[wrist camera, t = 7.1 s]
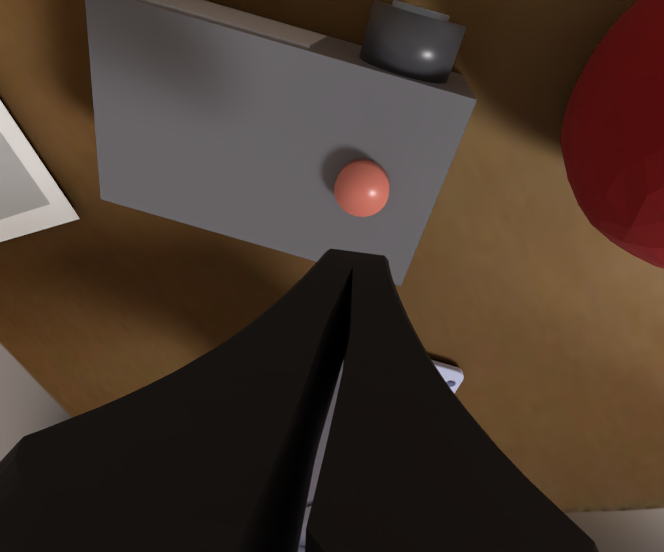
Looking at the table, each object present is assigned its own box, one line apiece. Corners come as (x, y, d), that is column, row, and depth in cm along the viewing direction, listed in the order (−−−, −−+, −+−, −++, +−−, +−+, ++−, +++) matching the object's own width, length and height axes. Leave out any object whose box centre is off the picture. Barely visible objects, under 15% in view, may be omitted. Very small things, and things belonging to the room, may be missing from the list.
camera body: (403, 231, 20) (400, 295, 16) (158, 160, 20) (91, 205, 16) (482, 23, 16) (508, 35, 11) (160, -71, 16) (63, -94, 11)
